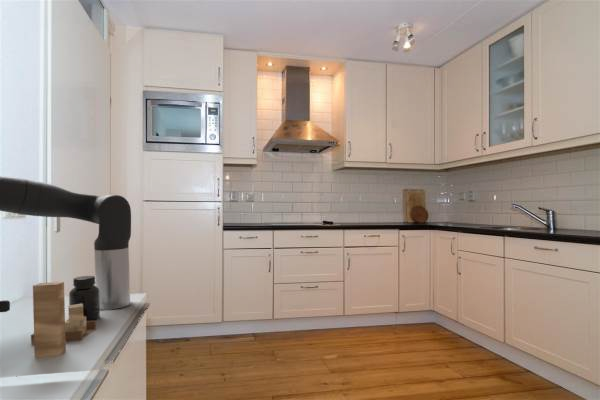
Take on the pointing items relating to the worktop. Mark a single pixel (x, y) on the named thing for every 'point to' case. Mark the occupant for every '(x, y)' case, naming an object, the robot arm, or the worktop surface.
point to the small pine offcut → (75, 312)
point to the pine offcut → (76, 325)
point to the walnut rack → (76, 333)
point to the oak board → (49, 319)
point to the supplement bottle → (86, 297)
